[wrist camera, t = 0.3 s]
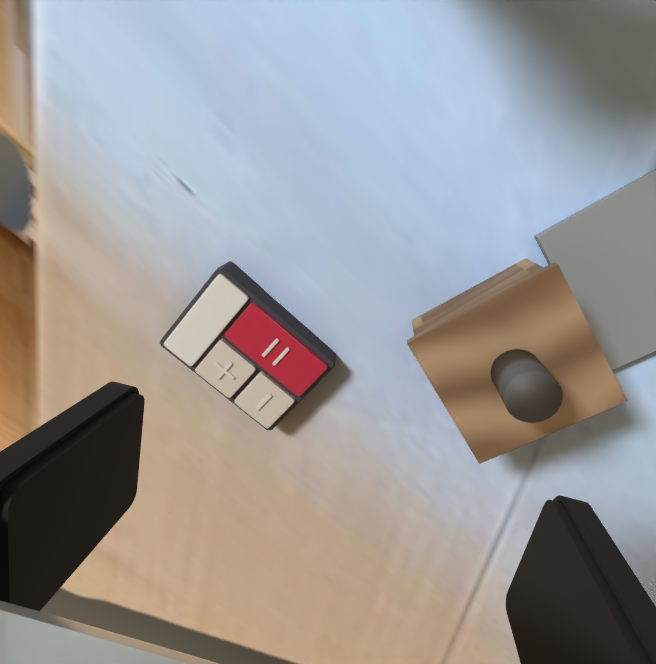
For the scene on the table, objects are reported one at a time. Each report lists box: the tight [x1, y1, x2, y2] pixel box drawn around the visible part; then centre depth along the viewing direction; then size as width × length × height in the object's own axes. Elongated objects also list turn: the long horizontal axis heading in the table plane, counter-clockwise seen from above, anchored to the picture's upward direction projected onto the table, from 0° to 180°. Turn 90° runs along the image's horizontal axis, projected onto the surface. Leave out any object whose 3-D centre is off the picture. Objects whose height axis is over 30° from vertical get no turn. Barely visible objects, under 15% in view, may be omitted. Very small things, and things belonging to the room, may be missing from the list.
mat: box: [534, 169, 656, 370], centre depth 40 cm, size 15×15×1 cm
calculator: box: [160, 262, 336, 430], centre depth 47 cm, size 11×4×15 cm
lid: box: [407, 262, 627, 464], centre depth 36 cm, size 13×13×7 cm
